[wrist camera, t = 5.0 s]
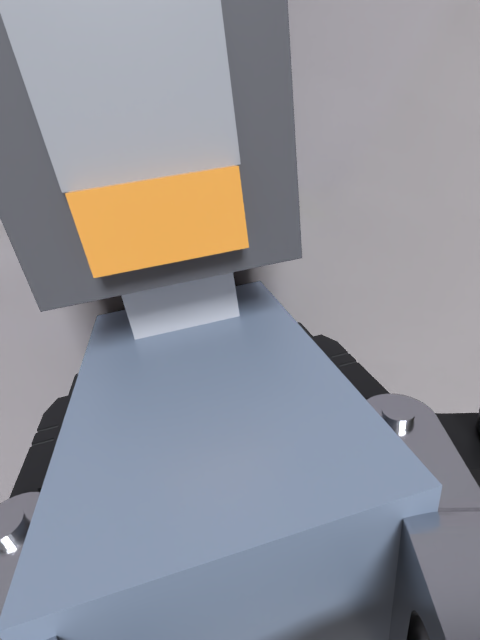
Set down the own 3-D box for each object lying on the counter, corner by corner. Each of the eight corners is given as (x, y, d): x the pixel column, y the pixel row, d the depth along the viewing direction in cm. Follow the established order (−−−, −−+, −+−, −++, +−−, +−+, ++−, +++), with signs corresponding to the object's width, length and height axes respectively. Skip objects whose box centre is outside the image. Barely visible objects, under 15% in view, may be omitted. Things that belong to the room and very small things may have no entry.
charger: (255, 239, 9) (459, 397, 3) (284, 490, 14) (393, 757, 8) (82, 272, 9) (-77, 551, 3) (171, 525, 13) (190, 847, 7)
